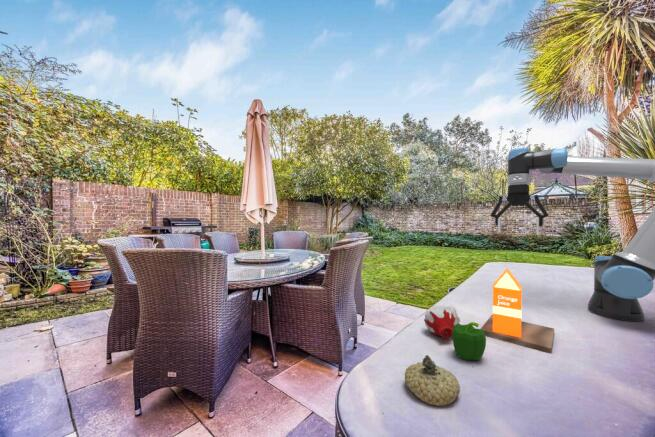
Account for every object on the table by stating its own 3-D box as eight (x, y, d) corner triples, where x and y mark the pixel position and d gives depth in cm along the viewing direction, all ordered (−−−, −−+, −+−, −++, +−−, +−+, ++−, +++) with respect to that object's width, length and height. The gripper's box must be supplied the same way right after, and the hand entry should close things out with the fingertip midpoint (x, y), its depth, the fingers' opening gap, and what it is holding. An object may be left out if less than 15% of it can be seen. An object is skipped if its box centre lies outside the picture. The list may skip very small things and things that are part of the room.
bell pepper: (444, 352, 75) (444, 317, 75) (464, 346, 78) (464, 313, 78) (471, 368, 67) (471, 329, 67) (492, 360, 71) (492, 324, 71)
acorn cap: (398, 374, 65) (398, 362, 58) (437, 357, 66) (441, 343, 59) (420, 421, 58) (424, 413, 51) (463, 400, 59) (472, 390, 52)
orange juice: (521, 328, 88) (521, 268, 88) (521, 337, 81) (522, 273, 81) (493, 322, 93) (494, 266, 92) (491, 331, 85) (492, 270, 85)
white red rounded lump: (453, 324, 93) (467, 351, 78) (420, 321, 95) (427, 346, 81) (455, 300, 92) (469, 323, 77) (421, 298, 94) (429, 319, 79)
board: (554, 333, 88) (554, 328, 88) (551, 353, 74) (551, 348, 74) (491, 318, 100) (491, 314, 100) (479, 334, 87) (480, 329, 87)
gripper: (483, 186, 119) (483, 232, 120) (556, 181, 102) (555, 235, 103) (487, 187, 125) (487, 231, 125) (556, 183, 108) (556, 234, 108)
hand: (517, 233), depth 114 cm, fingers open, 13 cm apart
